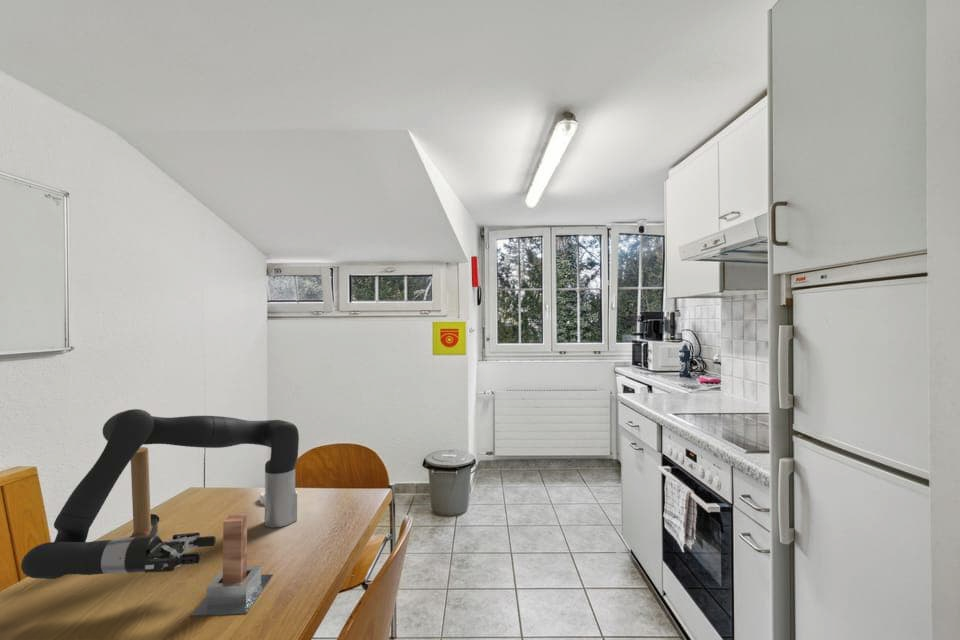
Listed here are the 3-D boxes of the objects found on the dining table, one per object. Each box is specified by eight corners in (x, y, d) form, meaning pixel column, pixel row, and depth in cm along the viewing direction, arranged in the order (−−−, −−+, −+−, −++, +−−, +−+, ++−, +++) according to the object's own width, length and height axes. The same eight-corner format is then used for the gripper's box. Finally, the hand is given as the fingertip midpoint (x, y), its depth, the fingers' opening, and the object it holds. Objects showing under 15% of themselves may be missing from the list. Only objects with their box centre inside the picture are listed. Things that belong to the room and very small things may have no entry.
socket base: (224, 580, 117) (224, 560, 117) (272, 578, 118) (273, 558, 118) (190, 619, 101) (190, 597, 101) (246, 616, 102) (246, 594, 103)
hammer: (144, 565, 128) (140, 464, 123) (121, 569, 126) (117, 467, 121) (160, 524, 146) (157, 435, 141) (141, 527, 144) (137, 437, 139)
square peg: (228, 589, 111) (229, 515, 112) (246, 587, 112) (247, 513, 113) (222, 599, 108) (223, 521, 108) (240, 597, 108) (241, 520, 109)
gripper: (113, 553, 99) (195, 546, 102) (148, 525, 113) (219, 520, 116) (112, 588, 99) (194, 580, 102) (148, 556, 113) (219, 550, 116)
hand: (208, 548), depth 109 cm, fingers open, 8 cm apart
